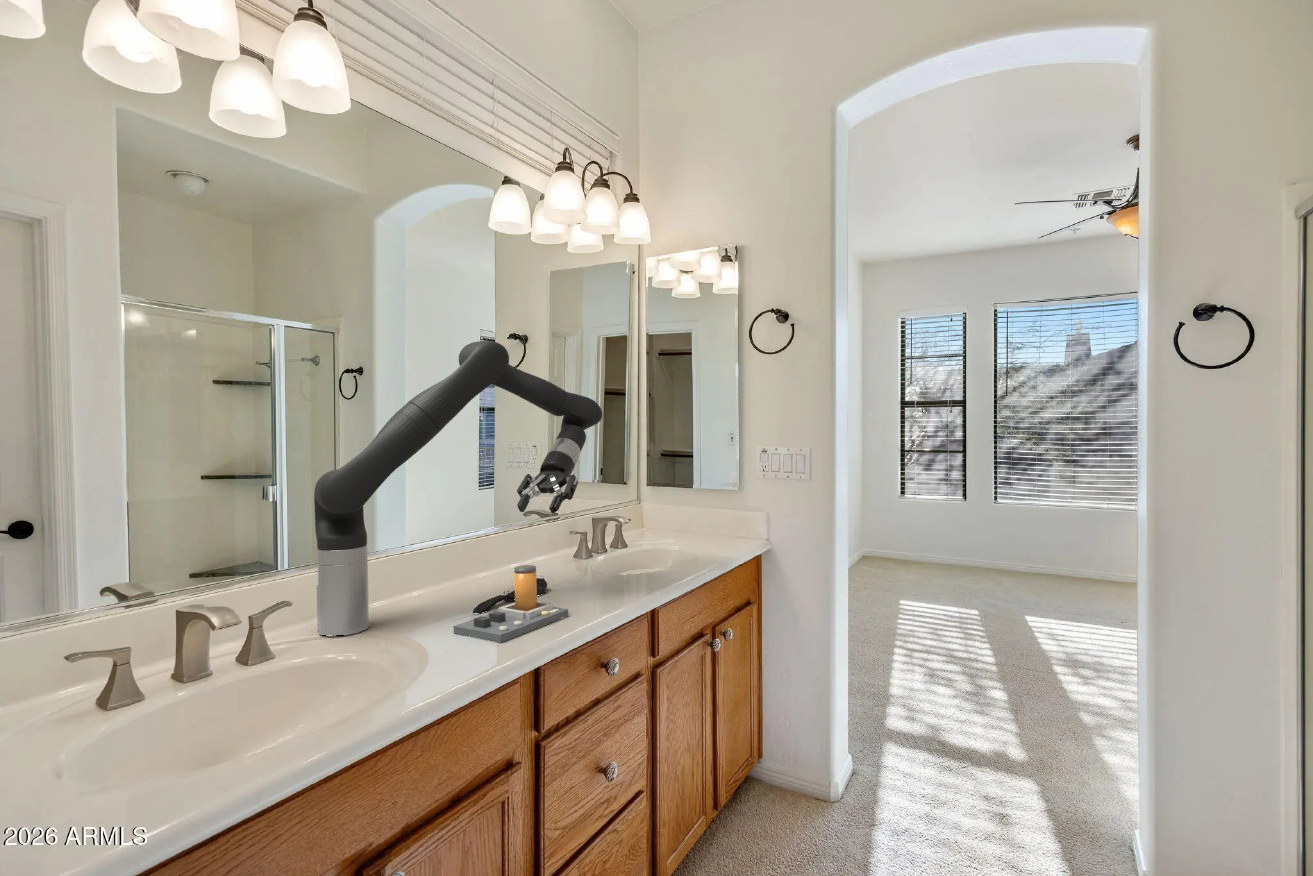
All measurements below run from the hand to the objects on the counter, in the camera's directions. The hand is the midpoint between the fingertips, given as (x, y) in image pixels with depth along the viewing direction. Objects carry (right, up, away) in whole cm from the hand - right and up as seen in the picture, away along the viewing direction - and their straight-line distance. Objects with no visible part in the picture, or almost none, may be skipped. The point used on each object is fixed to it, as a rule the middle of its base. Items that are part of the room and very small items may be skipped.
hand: (536, 510), depth 144 cm
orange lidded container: (0, -20, -10) cm, 23 cm away
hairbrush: (-7, -23, +5) cm, 25 cm away
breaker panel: (-2, -22, -15) cm, 27 cm away
